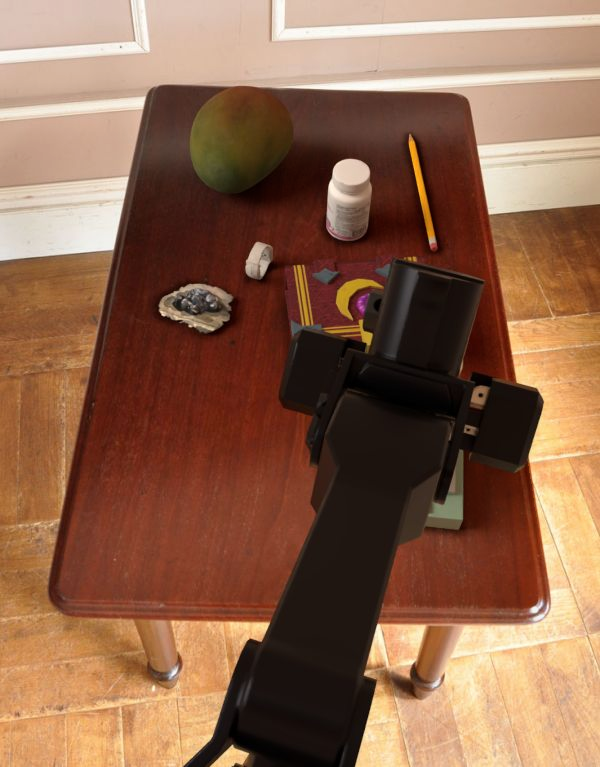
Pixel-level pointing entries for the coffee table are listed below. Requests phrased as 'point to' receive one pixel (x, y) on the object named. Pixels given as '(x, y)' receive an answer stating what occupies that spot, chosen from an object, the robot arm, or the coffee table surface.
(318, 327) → the decorative book
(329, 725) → the robot arm
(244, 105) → the fruit
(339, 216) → the pill bottle
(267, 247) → the smartwatch
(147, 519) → the coffee table surface
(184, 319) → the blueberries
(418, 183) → the pencil
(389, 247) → the coffee table surface
